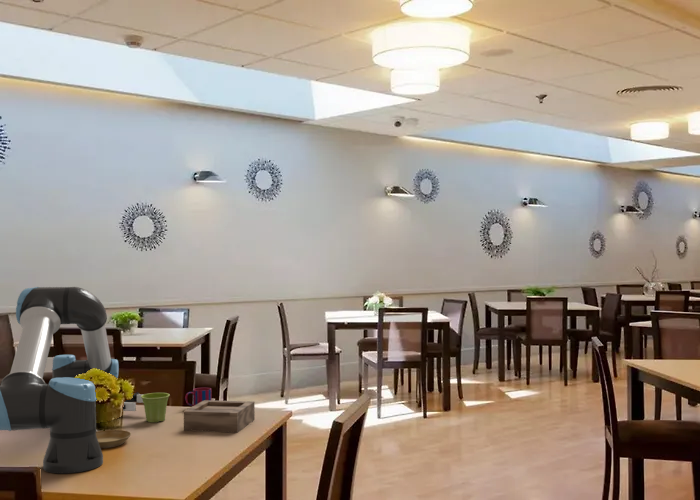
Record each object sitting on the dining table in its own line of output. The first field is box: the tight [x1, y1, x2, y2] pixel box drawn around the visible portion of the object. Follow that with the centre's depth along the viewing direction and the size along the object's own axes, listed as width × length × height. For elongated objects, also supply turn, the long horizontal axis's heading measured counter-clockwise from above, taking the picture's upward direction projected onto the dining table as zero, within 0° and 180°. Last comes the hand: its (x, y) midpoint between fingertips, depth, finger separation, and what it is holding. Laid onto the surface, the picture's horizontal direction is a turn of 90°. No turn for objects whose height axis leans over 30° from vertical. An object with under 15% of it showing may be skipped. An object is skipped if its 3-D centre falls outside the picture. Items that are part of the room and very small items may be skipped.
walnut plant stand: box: [183, 399, 256, 433], centre depth 245 cm, size 18×18×6 cm
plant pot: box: [141, 392, 171, 423], centre depth 252 cm, size 9×9×9 cm
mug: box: [184, 387, 212, 407], centre depth 272 cm, size 7×10×7 cm
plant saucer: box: [96, 429, 132, 449], centre depth 222 cm, size 15×15×3 cm
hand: (145, 402), depth 253 cm, fingers open, 13 cm apart
